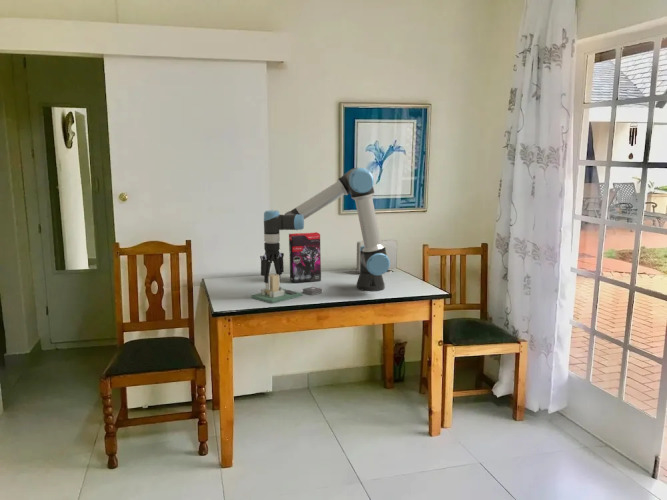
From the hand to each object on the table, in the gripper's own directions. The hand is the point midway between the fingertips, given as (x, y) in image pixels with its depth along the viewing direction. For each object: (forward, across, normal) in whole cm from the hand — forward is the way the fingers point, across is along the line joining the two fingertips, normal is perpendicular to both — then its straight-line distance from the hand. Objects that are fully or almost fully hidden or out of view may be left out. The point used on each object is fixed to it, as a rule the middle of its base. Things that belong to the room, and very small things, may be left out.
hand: (272, 288), depth 266 cm
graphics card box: (+5, -36, -14) cm, 39 cm away
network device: (+5, -82, +1) cm, 82 cm away
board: (+5, -2, +1) cm, 5 cm away
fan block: (+5, -20, +8) cm, 22 cm away
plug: (+3, 0, 0) cm, 3 cm away
